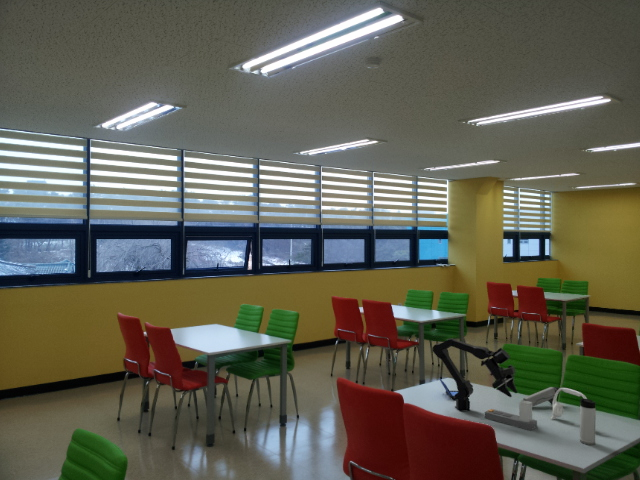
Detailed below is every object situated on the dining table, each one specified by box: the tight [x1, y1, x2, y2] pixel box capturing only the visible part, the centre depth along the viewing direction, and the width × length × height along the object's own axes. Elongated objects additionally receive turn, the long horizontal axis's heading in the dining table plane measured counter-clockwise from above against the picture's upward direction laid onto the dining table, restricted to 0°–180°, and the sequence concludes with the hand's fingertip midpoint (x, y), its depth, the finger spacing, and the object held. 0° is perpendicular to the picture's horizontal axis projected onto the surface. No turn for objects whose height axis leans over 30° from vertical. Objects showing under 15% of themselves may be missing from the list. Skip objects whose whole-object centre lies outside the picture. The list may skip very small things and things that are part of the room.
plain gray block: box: [518, 399, 533, 422], centre depth 248 cm, size 5×5×12 cm
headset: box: [550, 387, 588, 421], centre depth 252 cm, size 20×7×18 cm, turn 29°
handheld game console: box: [439, 378, 459, 401], centre depth 297 cm, size 16×13×9 cm
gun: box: [522, 386, 560, 408], centre depth 281 cm, size 2×25×10 cm, turn 110°
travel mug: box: [579, 397, 597, 446], centre depth 228 cm, size 6×7×20 cm
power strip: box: [484, 408, 538, 431], centre depth 254 cm, size 24×8×4 cm, turn 45°
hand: (513, 394), depth 255 cm, fingers open, 9 cm apart
